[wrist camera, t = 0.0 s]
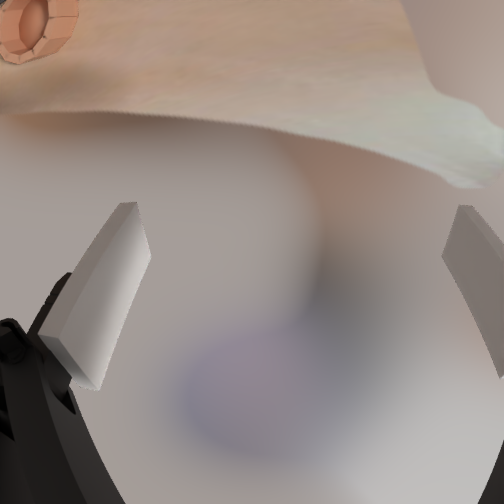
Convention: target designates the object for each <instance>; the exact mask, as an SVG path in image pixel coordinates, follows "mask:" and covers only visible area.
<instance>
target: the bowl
mask: <svg viewBox="0 0 504 504" xmlns="http://www.w3.org/2000/svg"><path fill="white" fill-rule="evenodd" d="M77 19H78V1H77V0H6V2H5V3H4V5H3V6H2V7H1V9H0V54H1V55H2V57H3V58H4V60H5V61H8V62H12V63H16V64H22V63H26V62H29V61H33V60H37V59H40V58H43V57H46V56H48V55H51V54H53V53H56V52H58V50H59V49H60V48H61V47H62V46H63V45H64V44H65V43H66V42H67V40H68V39H69V38H70V36H71V35H72V32H73V30H74V27H75V24H76V22H77Z"/></svg>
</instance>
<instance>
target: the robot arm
mask: <svg viewBox="0 0 504 504" xmlns="http://www.w3.org/2000/svg"><path fill="white" fill-rule="evenodd" d="M442 258H443V260H444V262H445V264H446V265H447V267H448V269H449V271H450V272H451V274H452V276H453V278H454V279H455V282H456V283H457V285H458V287H459V289H460V291H461V293H462V295H463V297H464V299H465V301H466V303H467V305H468V307H469V309H470V311H471V313H472V315H473V317H474V319H475V321H476V323H477V325H478V328H479V330H480V332H481V334H482V337H483V339H484V341H485V343H486V346H487V348H488V350H489V353H490V355H491V358H492V360H493V363H494V365H495V367H496V370H497V373H498V375H499V378H500V379H502V378H504V244H503V243H502V241H501V240H500V239H499V237H498V236H497V235H496V234H495V232H494V231H493V230H492V229H491V227H489V225H488V224H487V223H486V221H485V220H484V219H483V218H482V217H481V216H480V214H479V213H478V212H477V211H476V210H475V209H474V207H473V206H468V205H459V207H458V210H457V213H456V216H455V219H454V222H453V225H452V228H451V231H450V235H449V238H448V240H447V243H446V246H445V248H444V251H443V254H442ZM150 259H151V254H150V250H149V247H148V243H147V239H146V236H145V232H144V228H143V224H142V221H141V217H140V213H139V209H138V205H137V202H131V203H130V202H129V203H120V204H119V205H118V206H117V208H116V209H115V211H114V212H113V213H112V215H111V216H110V217H109V219H108V220H107V222H106V223H105V225H104V226H103V227H102V229H101V230H100V232H99V233H98V235H97V236H96V238H95V239H94V240H93V242H92V244H91V245H90V246H89V248H88V249H87V251H86V252H85V254H84V255H83V257H82V258H81V260H80V262H79V263H78V265H77V266H76V268H75V269H74V271H73V273H66V274H65V275H64V276H63V277H62V278H61V279H60V280H59V281H57V283H56V284H55V286H54V288H53V289H52V291H51V292H50V296H48V297H47V299H46V301H45V304H44V305H43V306H42V307H41V309H40V311H39V313H38V314H37V316H36V318H35V320H34V321H33V324H32V325H31V327H30V329H29V331H28V332H27V334H26V333H25V332H24V330H23V329H22V328H21V326H20V325H19V323H18V322H17V321H16V320H14V319H13V318H12V319H11V318H6V319H4V320H1V321H0V504H125V502H124V501H123V499H122V497H121V495H120V494H119V492H118V490H117V488H116V486H115V485H114V483H113V481H112V479H111V478H110V475H109V473H108V472H107V470H106V468H105V466H104V464H103V462H102V460H101V458H100V456H99V453H98V451H97V449H96V447H95V445H94V443H93V440H92V438H91V436H90V434H89V432H88V429H87V427H86V424H85V422H84V420H83V417H82V415H81V412H80V410H79V407H78V404H77V402H76V399H75V396H74V394H73V391H72V390H71V388H70V387H69V384H70V381H71V379H72V378H73V380H74V381H75V382H76V383H77V384H78V385H79V387H82V388H86V389H91V390H96V391H100V388H101V385H102V382H103V379H104V376H105V373H106V370H107V367H108V364H109V361H110V359H111V356H112V353H113V351H114V348H115V345H116V342H117V340H118V337H119V334H120V332H121V329H122V327H123V324H124V321H125V319H126V316H127V314H128V311H129V308H130V306H131V304H132V301H133V299H134V296H135V294H136V292H137V289H138V287H139V284H140V282H141V280H142V277H143V275H144V273H145V270H146V268H147V266H148V264H149V261H150ZM478 504H504V441H503V444H502V447H501V450H500V452H499V455H498V458H497V460H496V463H495V466H494V468H493V471H492V473H491V475H490V478H489V480H488V482H487V485H486V487H485V489H484V491H483V493H482V496H481V498H480V500H479V502H478Z"/></svg>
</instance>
